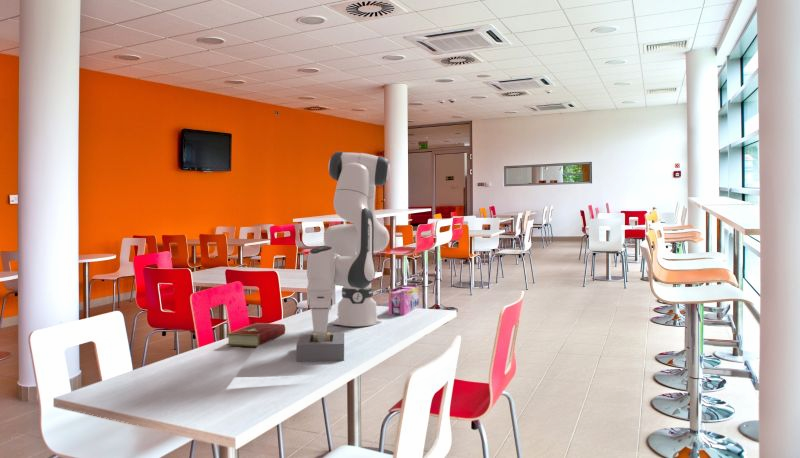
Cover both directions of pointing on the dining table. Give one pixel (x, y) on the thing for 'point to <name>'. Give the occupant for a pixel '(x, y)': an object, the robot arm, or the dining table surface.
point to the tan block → (326, 337)
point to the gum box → (403, 299)
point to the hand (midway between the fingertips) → (321, 342)
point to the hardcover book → (255, 334)
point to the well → (320, 348)
